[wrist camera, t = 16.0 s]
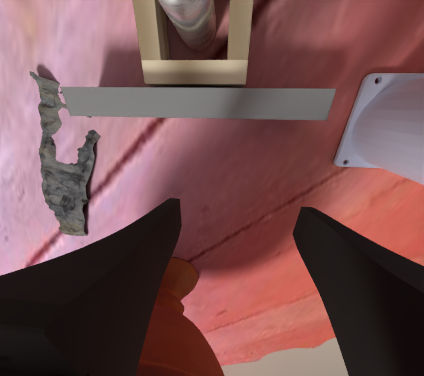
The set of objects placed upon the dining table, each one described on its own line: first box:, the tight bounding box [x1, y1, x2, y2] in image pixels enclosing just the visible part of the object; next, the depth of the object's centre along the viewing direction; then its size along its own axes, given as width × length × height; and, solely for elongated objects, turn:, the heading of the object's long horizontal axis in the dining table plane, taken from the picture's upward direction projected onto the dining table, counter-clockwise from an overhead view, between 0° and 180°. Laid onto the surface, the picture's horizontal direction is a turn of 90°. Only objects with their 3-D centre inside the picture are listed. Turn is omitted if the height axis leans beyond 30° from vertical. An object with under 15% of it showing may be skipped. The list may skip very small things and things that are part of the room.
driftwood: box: [30, 71, 100, 236], centre depth 20 cm, size 21×7×2 cm, turn 155°
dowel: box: [158, 0, 216, 50], centre depth 10 cm, size 3×3×7 cm
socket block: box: [133, 0, 253, 88], centre depth 12 cm, size 8×8×2 cm
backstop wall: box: [60, 87, 336, 120], centre depth 14 cm, size 20×2×4 cm, turn 89°
